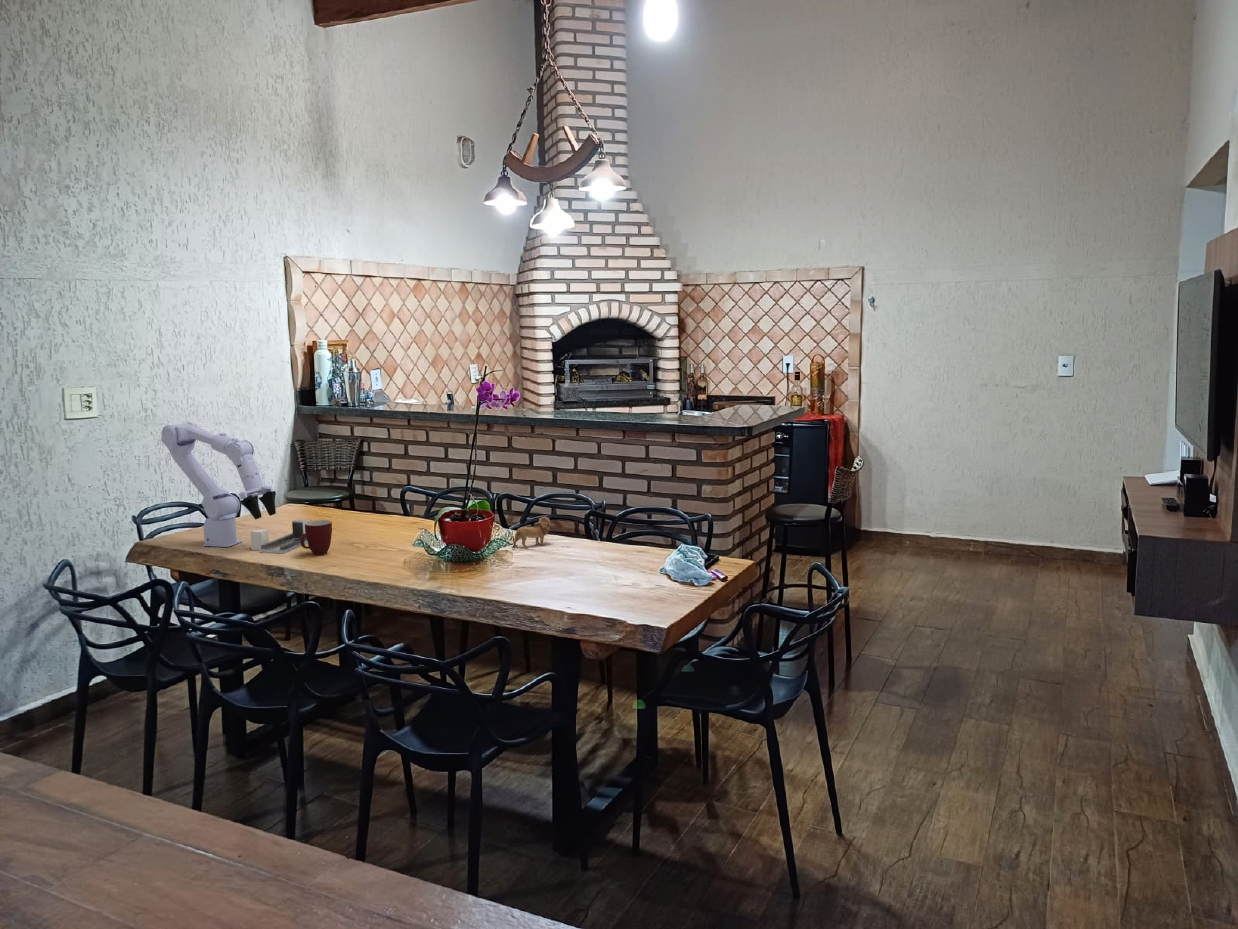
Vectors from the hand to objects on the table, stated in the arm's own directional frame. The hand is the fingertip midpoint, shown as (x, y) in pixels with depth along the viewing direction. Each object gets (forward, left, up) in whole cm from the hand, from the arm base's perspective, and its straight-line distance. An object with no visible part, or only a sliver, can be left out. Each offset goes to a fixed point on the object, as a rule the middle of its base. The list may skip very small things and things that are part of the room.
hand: (265, 516), depth 283 cm
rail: (+5, +5, -11) cm, 13 cm away
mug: (+20, -4, -11) cm, 23 cm away
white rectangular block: (-2, -1, -11) cm, 11 cm away
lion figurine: (+83, +21, -11) cm, 86 cm away
